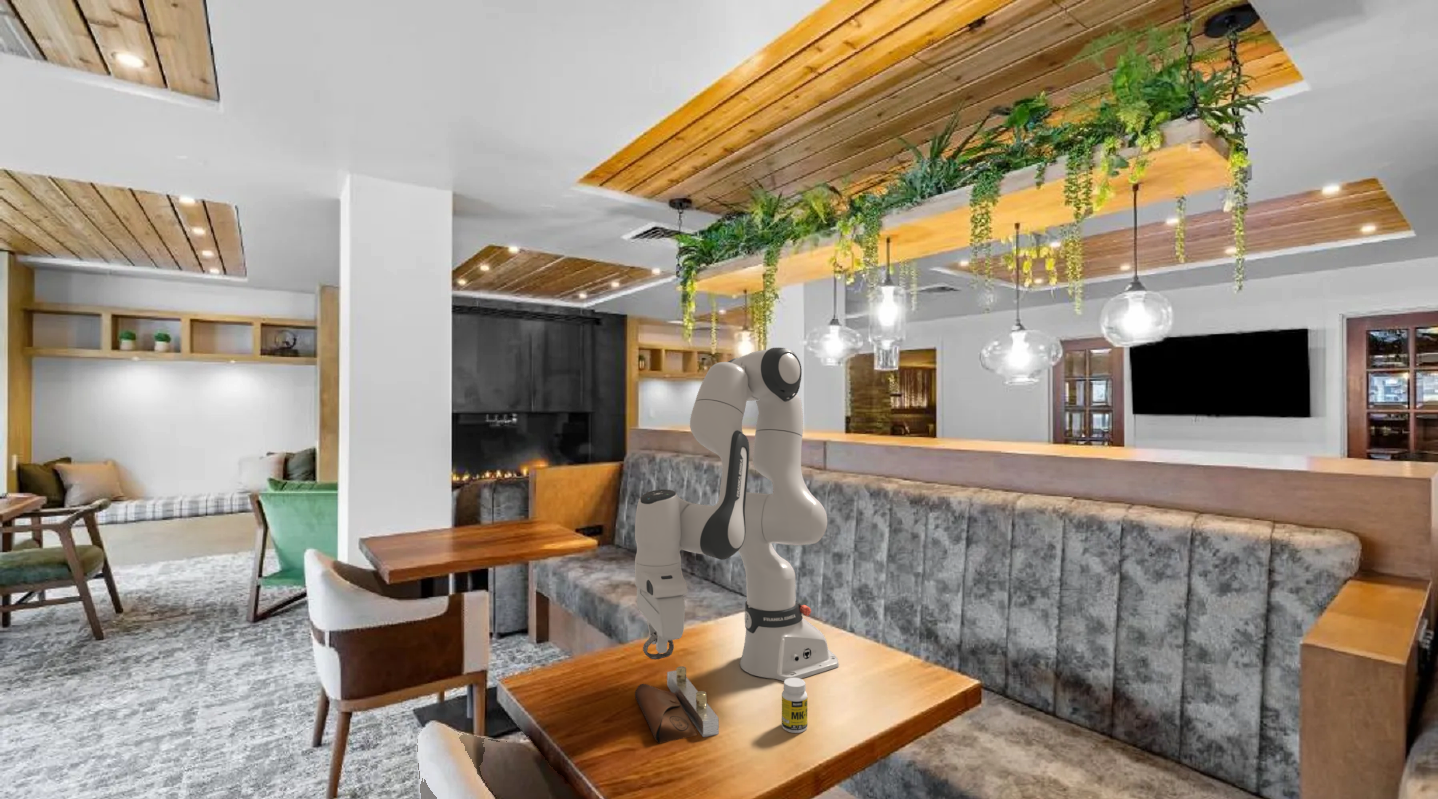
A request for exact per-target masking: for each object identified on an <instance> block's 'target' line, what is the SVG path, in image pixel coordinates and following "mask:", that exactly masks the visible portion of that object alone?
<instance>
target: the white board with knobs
mask: <svg viewBox="0 0 1438 799" xmlns="http://www.w3.org/2000/svg"><path fill="white" fill-rule="evenodd" d="M675 669H676V670H671V671H667V673H666V681H667V682H666V686H667V688H668V689H669V692H673V693H675V694H676V696H677V698H678V700H679V702H680V704H681V705H682V707H683V709H684V711H685V712H686V714H687V716H688V717H689V719H690V721H691V722H692V724H693V726H694V727H695V729H697V731H698V733H699V734H700V735H701V737H703V738H706V737H712V736H717V735H719V734H720V733H719V732H720V731H719V730H720V729H719V727H720V726H719V725H720V724H719V723H720V722H719V718H720V717H719V716H718V715H717V713H715V711H714V710H713V709H712V707H711V706H710V704H708V703H707V702H708V701H707V695H708V694H707V692H706V691H704V690H700V691H698V689H697V688H696V687H695V685H694V684H692V682H691V680H690V679H689V678H688V677H687V667H686V666H682V665H681V666H678V667H676V668H675Z"/></svg>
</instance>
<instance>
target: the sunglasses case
mask: <svg viewBox="0 0 1438 799" xmlns="http://www.w3.org/2000/svg"><path fill="white" fill-rule="evenodd" d="M634 697H635V699H636V702H637V704H638V705H639V708H640V709H641V711H642V714H643V716H644V717H645V720H646V722H647V724H648V726H649V729H650V731H651V734H652V736H653V738H654V740H655V741H656V742H657V743H658V744H662V743H669V742H672V741H676V740H677V741H678V740H682V739H685V738H690V737H694V736H698V732H697V731H698V730H696V727H695V725H694V724H693V722H692V721H691V719H690V718H689V716H688V715H687V714H686V712H685V711H684V709H683V707H682V705H681V704H680V702H679V700H678V698H677V696H676V694H675V693H673V692H671V691H668V690H663V689H660V688H658V687H654V686H652V685H649V684H646V683H641V684H639V685H638V686H637V688H635V692H634Z"/></svg>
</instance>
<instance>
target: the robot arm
mask: <svg viewBox="0 0 1438 799" xmlns="http://www.w3.org/2000/svg"><path fill="white" fill-rule="evenodd" d="M802 370H803V369H802V365H801V361H800V359H799V357H798V356H797V355H796V353H795V352H794V351H793V350H792V349H790V348H786V347H771V348H768V349H763V350H756V351H753V352H752V351H751V352H750V353H748V354H744V355H742V356H739V357H736V358H731V359H730V360H728V361H720V362H716V363H714V364H713V365H711V366H710V368H709V369H708V370H707V373H706V374H705V376H704V378H703V379H702V383H701V385H700V387H699V390H698V391H697V392H698V393H697V394H696V396H695V400H694V403H693V406H692V407H693V408H692V410H691V414H690V418H689V420H690V421H689V427H690V431H691V434H692V436H693V438H694V439H695V441H696V442H697V443H698V444H699V445H700V446H702V447H704V448H705V449H706V450H708V451H710V452H712V453H713V454H715V455H717V456H718V457H719V458H720V460H721V464H722V468H721V471H722V472H721V478H720V487H719V488H720V490H719V498H718V501H717V502H716V503H715V505H709V504H708V505H707V504H700V503H696V502H695V503H694V502H690V501H687V500H685V499H683V498H680V497H679V496H678V494H677V492H676V491H674V490H672V489H666V488H665V489H654V490H650V491H648V492H646V493H643V494H642V495H641V496H640V497H639V498H638V502H637V506H636V511H635V524H634V540H635V543H636V554H635V557H634V558H635V560H634V586H635V587H636V607H637V610H638V611H639V612H640V614H641V615H642V616H643V617H644V618H645V620H646V621H647V622H646V624H647V628H648V633H649V635H648V636H649V637H648V639H649V638H650V637H651V635H652V634H653V632H655V631H656V632H657V635H658V637H657V638H656V639H655V640H654V641H653V642H652V643H651V645H655V650H656V651H657V653H660V654H663V653H665V652H667V650H668V644H669V642H668V640H680V639H681V638H682V637H683V633H684V626H685V612H686V610H685V607H686V604H685V598H684V596H686V595H687V594H688V583H687V581H686V580H685V578H684V575H683V570H682V557H681V553H680V551H686V552H690V553H695V554H700V555H705V556H707V557H710V558H714V559H717V560H721V561H725V560H727V559H729V558H731V557H732V556H734V555H735V554H736V553H737V552H738V554H739V556H740V558H741V560H742V562H743V567H744V571H745V582H746V583H745V585H746V601H745V603H744V626H745V637H744V643H743V650H742V655H741V657H740V661H739V666H740V668H741V669H742V670H743V671H744V672H746V673H747V674H750V675H752V676H756V677H760V678H767V679H775V680H779V681H781V682H784V681H785V680H786V679H788V678H800V679H804V678H808V677H810V676H813V675H816V674H820V673H823V672H827V671H830V670H833V669H836V668H838V667H839V666H840V664H839V659H838V657H837V655H836V654H835V653H833V652H832V651H831V650H830V649H829V646H828V642H827V638H826V637H825V635H824V633H823V632H822V631H821V630H820V629H818V628H817V627H816V626H815V625H813V624H812V623H810V622H809V621H808V620H807V619H805V618H804V617H803V615H804V616H806V617H809V616H810V615H811V614H812V608H811V607H809V606H807V605H806V604H803V605H802V603H800V602H798V601H796V572H795V569H794V568H793V566H792V564H791V563H790V562H789V561H788V560H786V559H785V558H784V557H781V556H780V555H779V553H777V551H776V550H775V548H774V545H773V544H780V545H789V546H804V545H805V546H806V545H813V544H817V543H818V542H820V541H821V540H822V538H823V537H824V535H825V534H826V531H827V528H828V516H827V512H826V509H825V507H824V506H823V504H822V503H821V501H820V500H818V499H817V498H816V497H815V496H814V494H812V493H811V492H810V490H809V488H808V486H807V485H806V482H805V480H804V477H803V473H802V471H803V470H802V446H803V445H802V444H803V434H804V433H803V431H804V429H803V428H804V427H803V426H804V418H803V414H804V413H803V407H802V406H803V405H802V400H801V398H800V396H799V395H798V392H799V390H800V385H801V381H802ZM748 401H749V402H753V401H754V402H755V403H756V406H757V410H758V414H757V415H758V416H757V418H756V419H757V420H756V423H755V433H754V434H755V435H754V441H753V452H752V465H753V467H754V469H755V470H756V472H757V473H758V474H760V475H761V476H763V477H764V478H766V479H767V480H768V481H770V482H771V484H772V493H763V492H762V493H760V492H749V491H747V490H748V480H749V478H748V477H749V470H750V469H749V467H750V443H749V439H748V437H747V436H746V434H744V432H743V419H744V416H745V412H746V406H747V402H748Z"/></svg>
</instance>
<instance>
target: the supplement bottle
mask: <svg viewBox="0 0 1438 799" xmlns="http://www.w3.org/2000/svg"><path fill="white" fill-rule="evenodd" d="M806 689H807V688H806V681H805V680H804V679H803V678H801V679H800V678H788V679H786V680H785V681H783V691H782V692H781V727H782V729H783V730H785V732H789V733H791V734H798V733H803V732H805V731H806V730H807V729H808V693H807V691H806Z"/></svg>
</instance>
